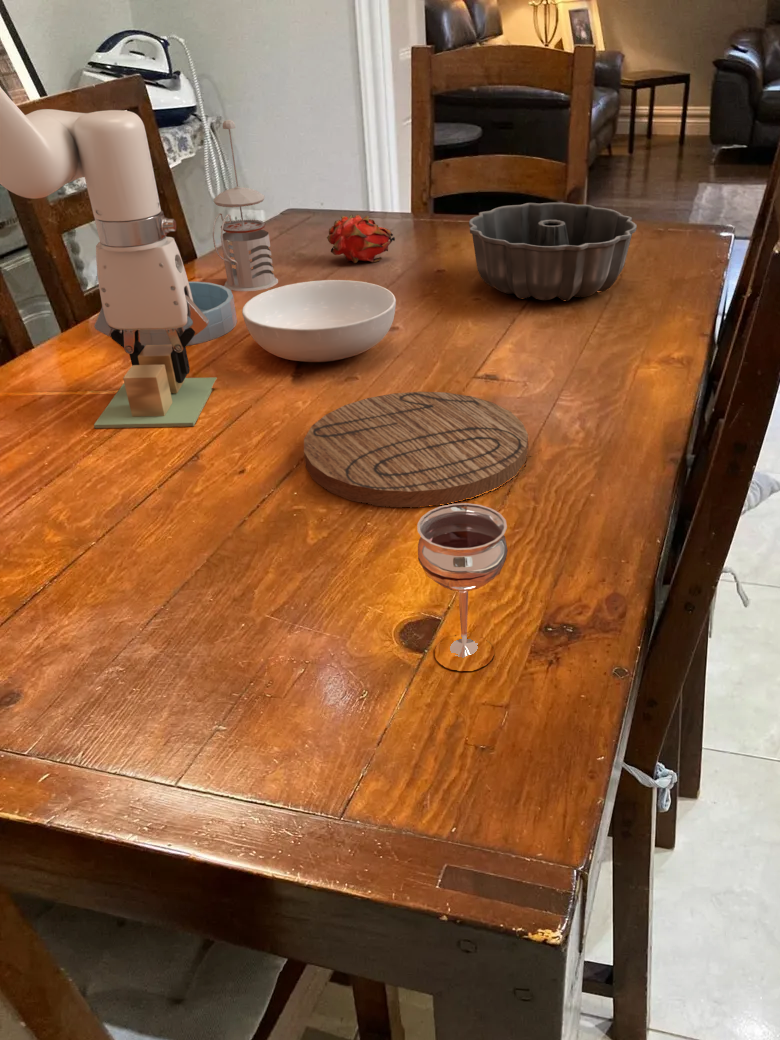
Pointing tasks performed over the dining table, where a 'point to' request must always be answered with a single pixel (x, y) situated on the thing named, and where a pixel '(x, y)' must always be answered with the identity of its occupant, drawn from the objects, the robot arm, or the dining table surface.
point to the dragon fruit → (359, 238)
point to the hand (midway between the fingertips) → (163, 378)
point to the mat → (178, 415)
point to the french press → (244, 239)
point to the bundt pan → (551, 249)
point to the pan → (213, 305)
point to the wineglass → (462, 554)
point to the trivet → (415, 449)
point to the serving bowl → (320, 319)
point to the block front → (148, 390)
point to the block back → (160, 362)
